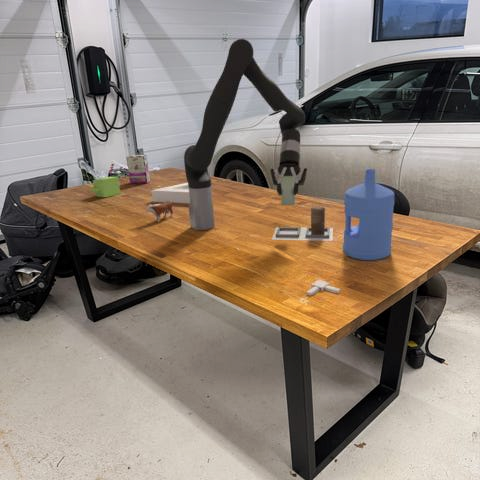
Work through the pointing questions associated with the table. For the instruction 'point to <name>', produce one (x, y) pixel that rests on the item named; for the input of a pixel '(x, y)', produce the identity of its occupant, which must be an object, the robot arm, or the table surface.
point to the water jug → (368, 220)
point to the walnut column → (318, 220)
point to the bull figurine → (160, 209)
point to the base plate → (301, 234)
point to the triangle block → (172, 194)
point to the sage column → (287, 190)
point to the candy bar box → (138, 169)
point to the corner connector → (323, 285)
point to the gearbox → (106, 186)
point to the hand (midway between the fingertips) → (287, 194)
